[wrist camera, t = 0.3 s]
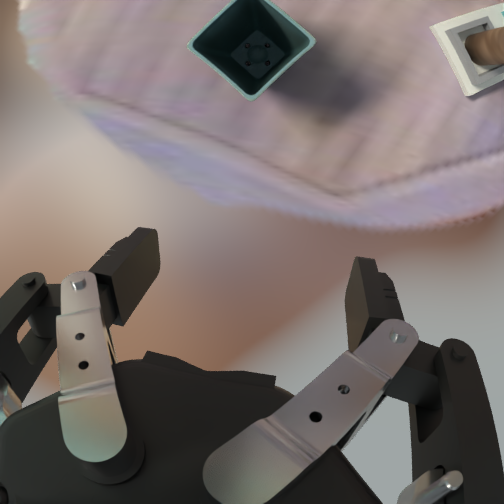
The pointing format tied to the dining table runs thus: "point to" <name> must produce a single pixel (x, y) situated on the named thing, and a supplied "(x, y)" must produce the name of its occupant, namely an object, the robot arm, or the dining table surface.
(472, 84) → the frame board
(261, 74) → the flower pot
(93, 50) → the dining table surface
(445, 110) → the dining table surface
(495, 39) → the jar
